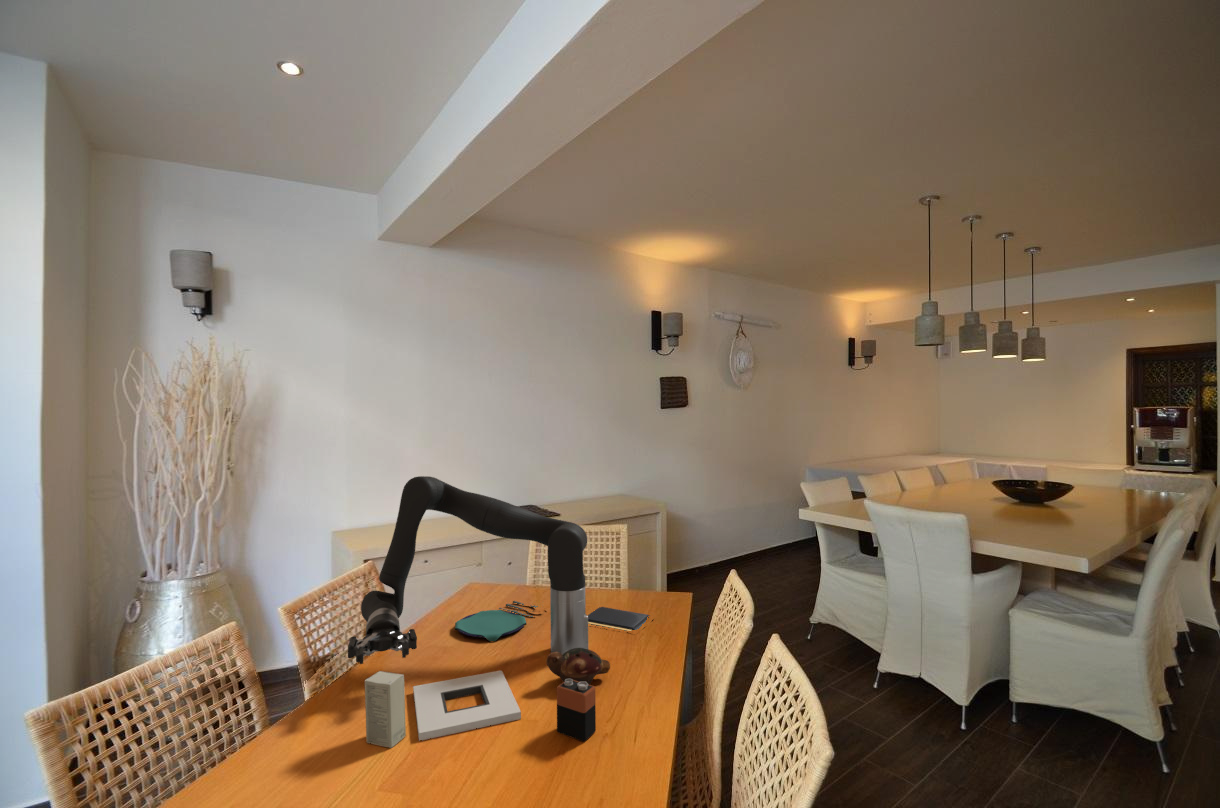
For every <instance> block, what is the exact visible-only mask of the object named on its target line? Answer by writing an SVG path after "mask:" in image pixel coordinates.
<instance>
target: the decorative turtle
mask: <svg viewBox="0 0 1220 808" xmlns="http://www.w3.org/2000/svg"><path fill="white" fill-rule="evenodd" d="M546 666H547V668H548V670H550V671H551V672H552V673H553V674H554V675H555V676H557V677H559V679H561V682H562V683H563V682H565V679H572V680H575V681H578V682H587V683H588V685H591V684H592V682H593V680H594V678H595V677H596V676H597V675H604V674H607V673H609V672H610V669H611V663H610V661H609V660H607V659H603V658H602V657H601V656H600V655H599V654H598V653H597V652H595V651H593V650H591V649H589V648H588V649H585V648H574V649H570V650H568V651H567V652H565V653H564V654H563V655H562V654H561V653H560V652H552V653H551V652H550V653H549V654H548V655H547V658H546Z"/></svg>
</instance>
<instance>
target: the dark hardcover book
mask: <svg viewBox="0 0 1220 808" xmlns="http://www.w3.org/2000/svg"><path fill="white" fill-rule="evenodd" d="M586 615H587V616H588V624H591V625H596V626H602V627H608V628H614V629H619V630H624V631H632V630H637V629H639V628H640V627H641V626H642V624H644V623H645V622H646V620H647V617H648V616H650V615H649V614H646V613H641V612H634V611H630V610H629V611H628V610H623V609H618V608H612V607H605V606H599V607H597V608H596V609H595V611H594V610H593V611H592V612H590V613H589V614H586ZM648 618H649V617H648Z"/></svg>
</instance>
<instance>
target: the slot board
mask: <svg viewBox="0 0 1220 808" xmlns="http://www.w3.org/2000/svg"><path fill="white" fill-rule="evenodd" d="M412 689H413V690H412V691H413V692H412V693H414V694H413V701H414V702H415V703H414V709H415V710H414V711H415V719H416V720H415V721H416V725H417V736H418V742H420V740H422V741H425V740H430V738H431V739H435V738H440V737H444V736H449V735H452V734H453V735H454V734H457V733H462V732H463V733H464V732H468V731H472V730H476V728H477V729H481V728H486V727H490V725H491V726H495V725H499V724H503V723H509V722H513V721H518V720H521V719H522V712H521V709H520V706H519V704H518V702H517V700H516V698H515V696H514V694H513V691H512V689H511V688H510V684H509V683H508V680H507V679H506V676H505V674H504V672H503V670H496V671H490V672H485V673H480V674H473V675H468V676H463V677H457V678H451V679H447V680H441V681H435V682H429V683H424V684H420V685H414V686H412ZM479 694H480V696H481V699H482V702H483V703H482V704H479V705H473V706H466V707H464V708H458V709H453V710H449V711H448V707H447V702H446V701H447V700H453V699H458V698H464V697H468V696H474V695H479Z"/></svg>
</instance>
